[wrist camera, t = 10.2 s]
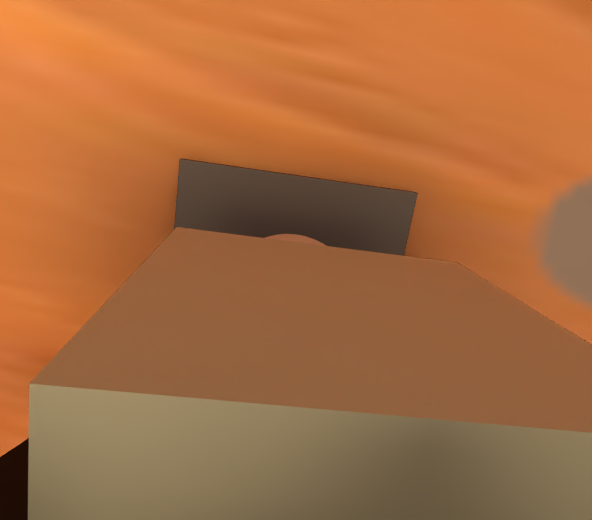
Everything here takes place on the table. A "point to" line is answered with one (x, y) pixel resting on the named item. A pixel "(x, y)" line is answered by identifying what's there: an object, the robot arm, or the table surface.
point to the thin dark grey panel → (292, 207)
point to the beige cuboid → (310, 394)
